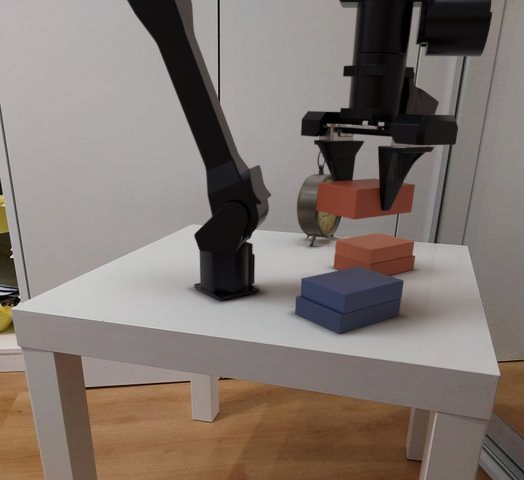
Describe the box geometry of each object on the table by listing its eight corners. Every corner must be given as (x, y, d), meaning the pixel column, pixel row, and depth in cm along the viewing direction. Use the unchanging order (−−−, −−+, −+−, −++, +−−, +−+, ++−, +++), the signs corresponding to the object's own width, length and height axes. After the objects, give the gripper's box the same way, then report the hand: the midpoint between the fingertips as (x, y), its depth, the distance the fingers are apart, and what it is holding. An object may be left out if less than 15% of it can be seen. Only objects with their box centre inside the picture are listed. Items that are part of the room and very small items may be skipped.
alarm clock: (316, 249, 92) (322, 150, 86) (289, 244, 95) (293, 148, 88) (342, 238, 101) (349, 147, 94) (316, 234, 103) (322, 145, 97)
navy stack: (339, 334, 58) (342, 295, 56) (294, 313, 63) (296, 278, 61) (399, 315, 63) (404, 280, 61) (354, 298, 69) (357, 265, 67)
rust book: (354, 219, 58) (357, 189, 56) (316, 210, 63) (317, 182, 61) (411, 212, 63) (415, 184, 62) (372, 204, 68) (374, 178, 66)
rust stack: (369, 280, 76) (372, 250, 74) (333, 268, 82) (335, 239, 80) (413, 269, 82) (417, 241, 80) (376, 259, 87) (380, 232, 85)
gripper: (503, 56, 53) (474, 213, 60) (369, 64, 67) (357, 191, 74) (433, 47, 47) (409, 222, 54) (301, 58, 61) (295, 197, 68)
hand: (364, 206), depth 62 cm, fingers closed on rust book, 6 cm apart
